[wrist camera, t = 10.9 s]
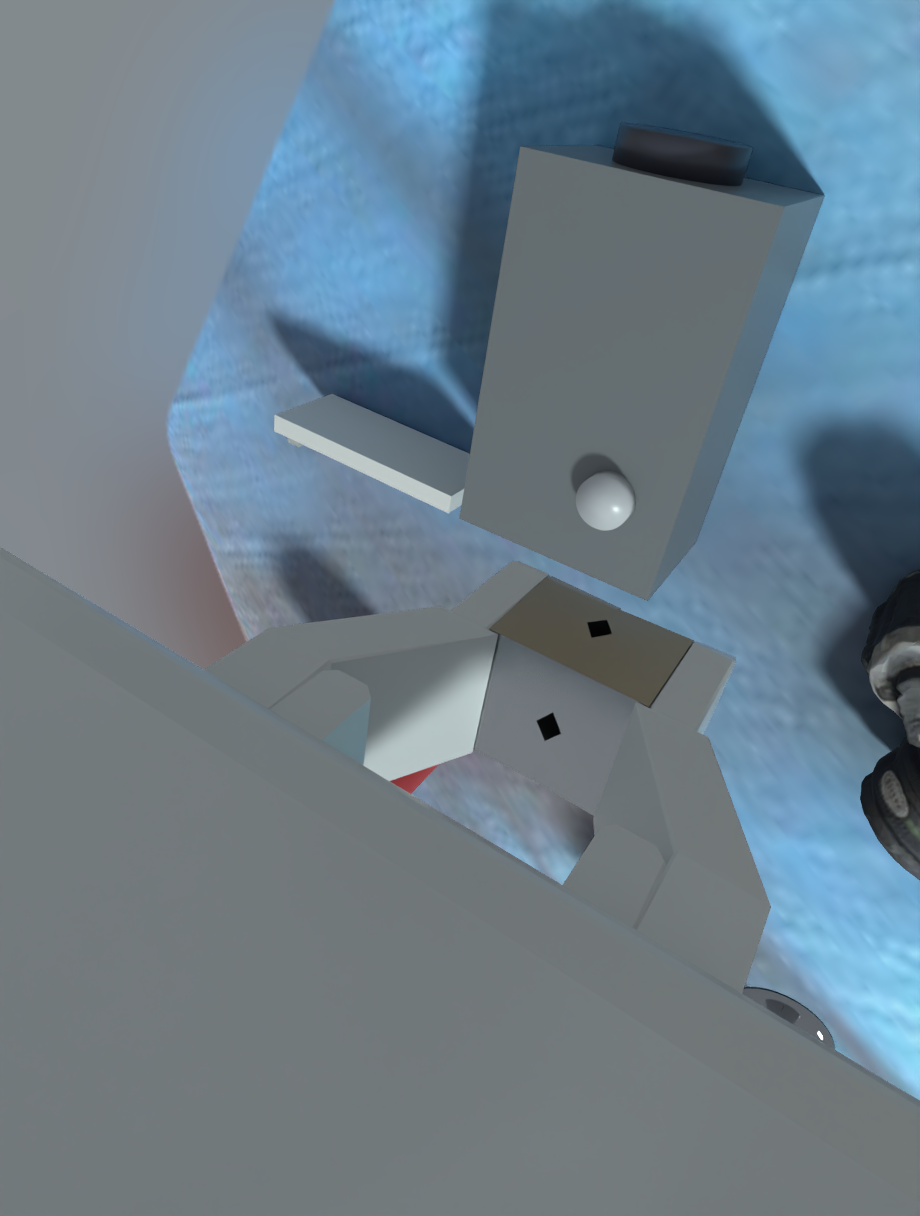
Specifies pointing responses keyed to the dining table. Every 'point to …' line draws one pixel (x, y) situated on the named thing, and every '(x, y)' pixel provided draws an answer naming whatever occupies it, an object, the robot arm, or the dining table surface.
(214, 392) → the dining table surface
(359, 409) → the side door
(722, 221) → the block
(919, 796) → the camera
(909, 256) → the dining table surface
